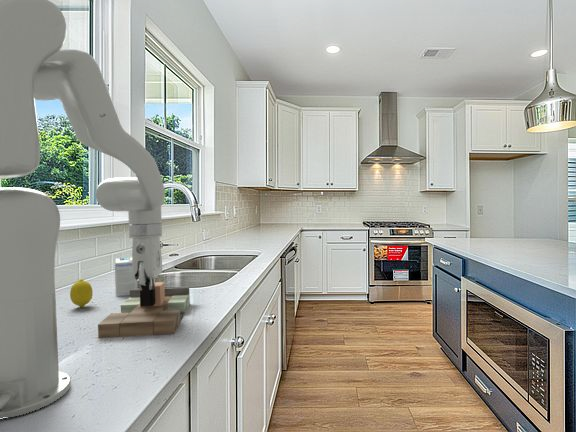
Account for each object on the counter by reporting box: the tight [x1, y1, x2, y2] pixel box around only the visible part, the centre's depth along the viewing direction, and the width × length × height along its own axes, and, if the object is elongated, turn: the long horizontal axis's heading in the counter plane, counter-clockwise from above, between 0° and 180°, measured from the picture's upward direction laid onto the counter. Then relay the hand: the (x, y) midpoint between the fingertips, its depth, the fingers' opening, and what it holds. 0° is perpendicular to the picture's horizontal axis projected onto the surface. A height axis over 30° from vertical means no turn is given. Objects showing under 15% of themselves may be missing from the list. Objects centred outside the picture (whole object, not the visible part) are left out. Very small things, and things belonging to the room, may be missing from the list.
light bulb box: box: [114, 256, 139, 297], centre depth 121 cm, size 11×7×11 cm, turn 25°
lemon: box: [69, 279, 94, 308], centre depth 103 cm, size 6×6×8 cm
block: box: [140, 281, 165, 307], centre depth 95 cm, size 5×5×5 cm
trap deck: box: [97, 286, 191, 339], centre depth 92 cm, size 24×16×5 cm, turn 7°
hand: (148, 305), depth 90 cm, fingers closed
